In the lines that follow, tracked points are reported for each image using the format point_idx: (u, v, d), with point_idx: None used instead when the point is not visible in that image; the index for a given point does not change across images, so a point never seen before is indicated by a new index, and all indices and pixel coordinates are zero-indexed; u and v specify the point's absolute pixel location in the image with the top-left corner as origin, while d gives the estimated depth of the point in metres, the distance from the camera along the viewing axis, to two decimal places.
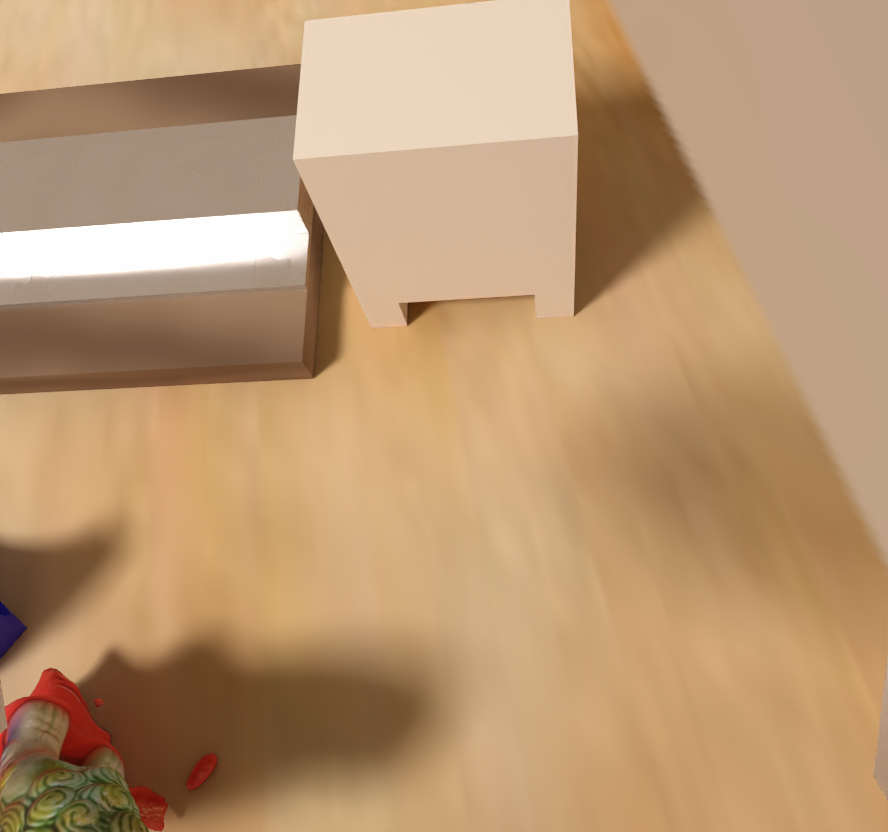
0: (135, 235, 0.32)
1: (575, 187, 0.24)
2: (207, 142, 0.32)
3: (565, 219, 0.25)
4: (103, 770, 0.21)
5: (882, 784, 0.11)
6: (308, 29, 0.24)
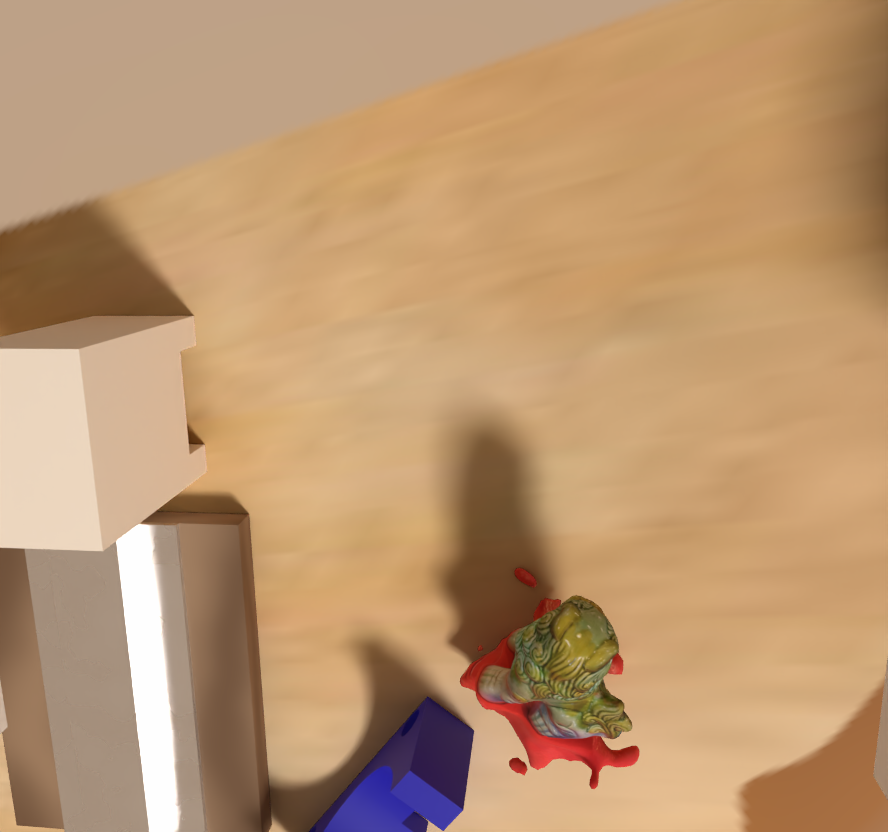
0: (138, 655, 0.41)
1: (110, 341, 0.32)
2: (56, 607, 0.40)
3: (130, 342, 0.33)
4: (516, 641, 0.34)
5: (882, 784, 0.11)
6: None
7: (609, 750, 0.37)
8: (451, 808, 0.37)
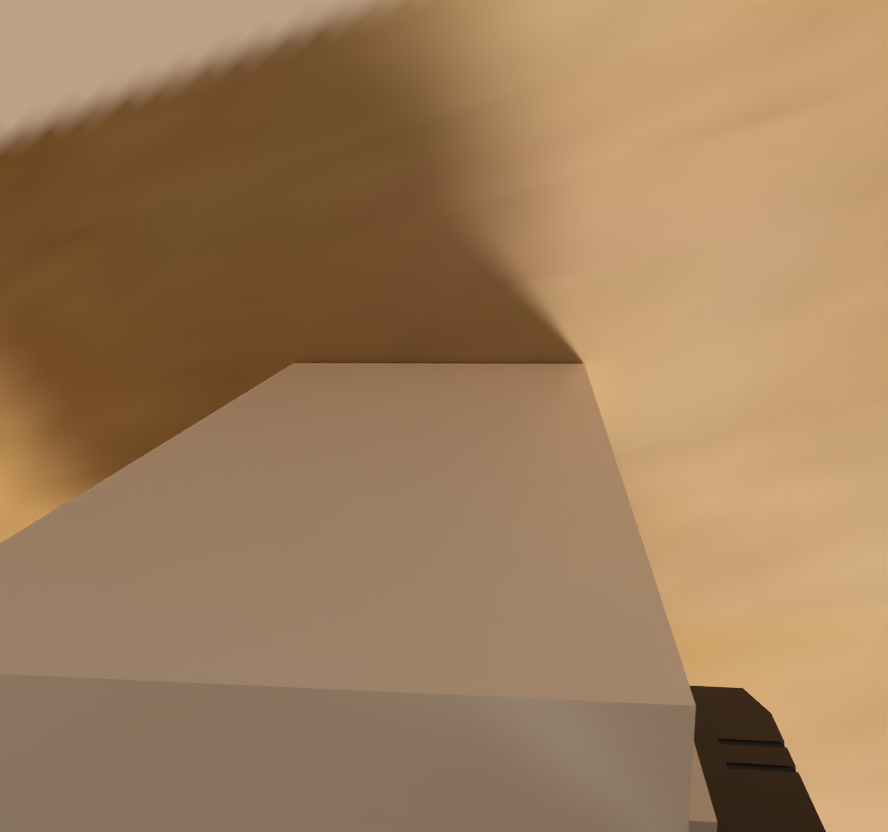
0: None
1: (643, 546, 0.06)
2: None
3: None
4: None
5: None
6: None
7: None
8: None
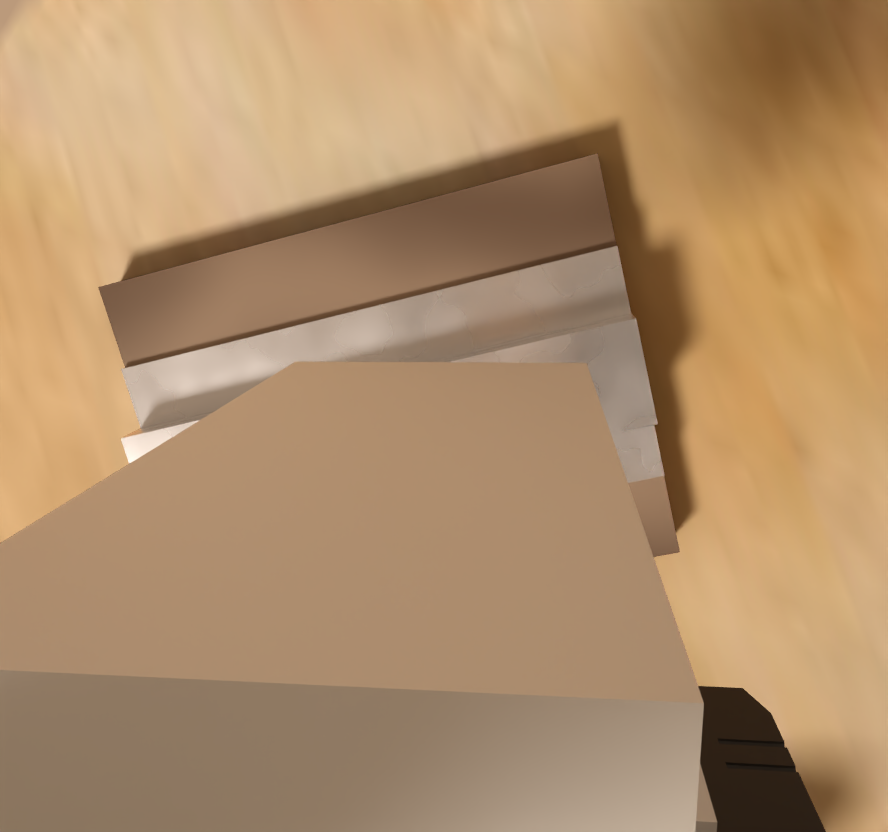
0: None
1: (648, 544, 0.06)
2: (516, 345, 0.27)
3: None
4: None
5: None
6: None
7: None
8: None
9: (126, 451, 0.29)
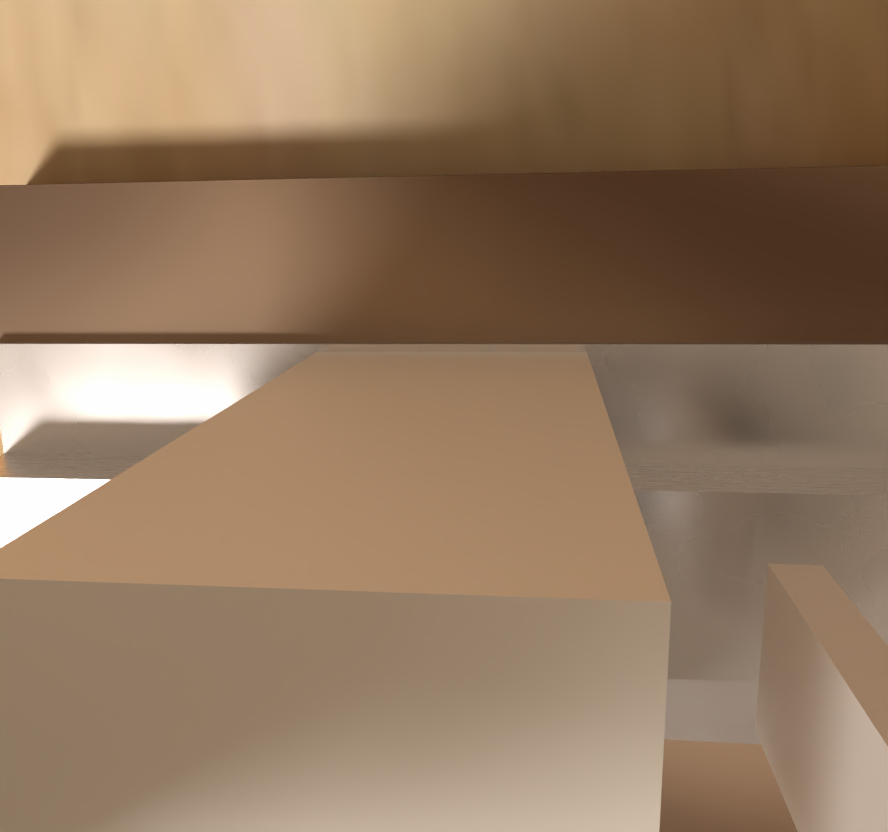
0: None
1: (635, 496, 0.07)
2: (742, 490, 0.14)
3: None
4: None
5: (760, 735, 0.12)
6: None
7: None
8: None
9: None
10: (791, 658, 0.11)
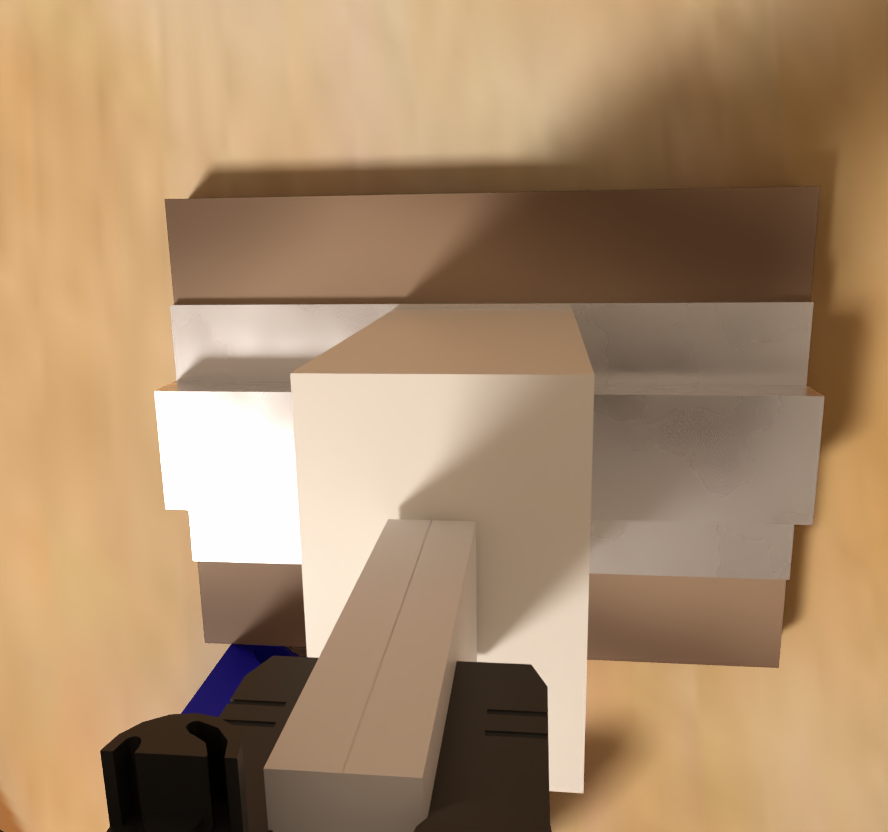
0: None
1: (587, 355, 0.15)
2: (670, 394, 0.22)
3: None
4: None
5: None
6: None
7: None
8: None
9: (157, 408, 0.23)
10: None
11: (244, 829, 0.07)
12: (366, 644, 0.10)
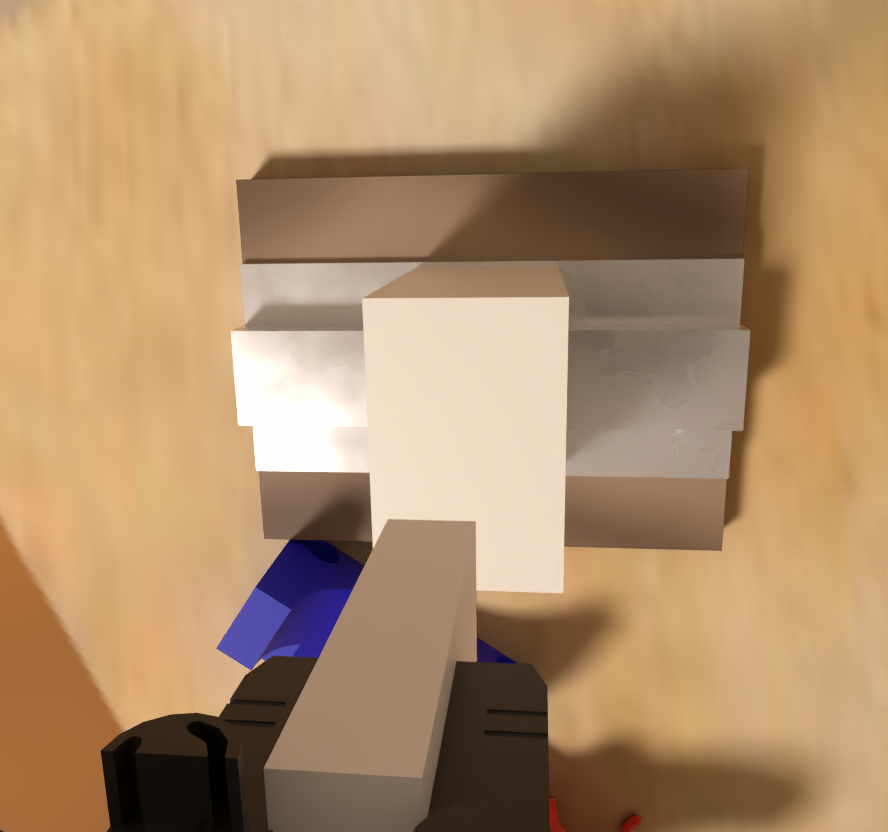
0: None
1: None
2: (633, 329, 0.28)
3: None
4: None
5: None
6: None
7: None
8: None
9: (233, 344, 0.30)
10: None
11: (244, 829, 0.07)
12: (366, 643, 0.10)
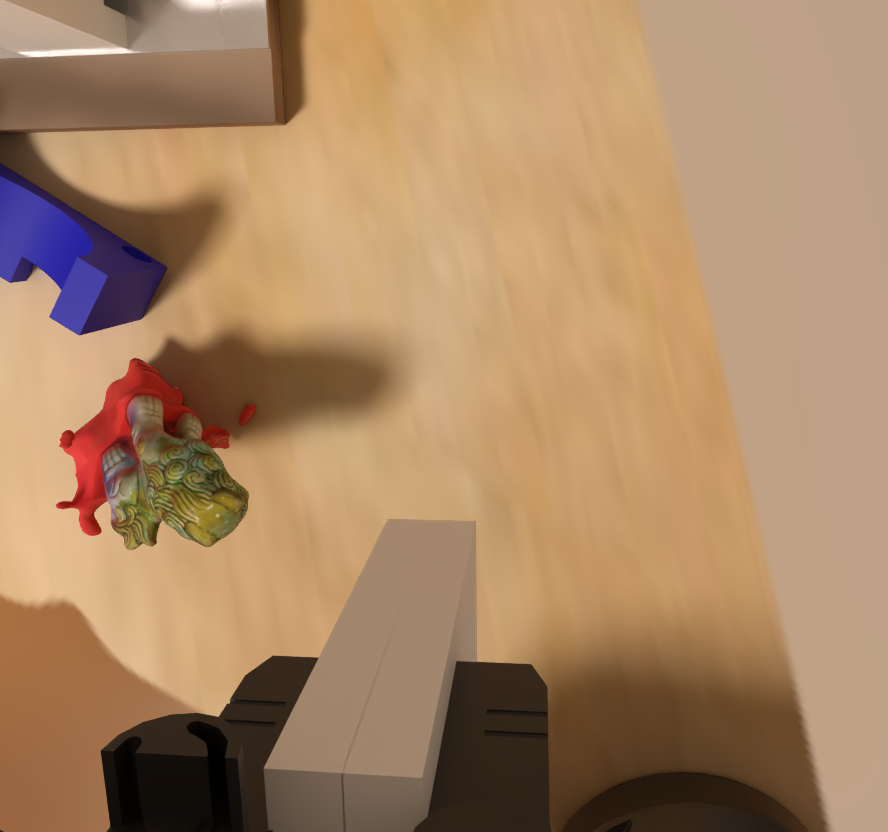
0: None
1: None
2: None
3: None
4: (198, 444, 0.35)
5: None
6: None
7: (93, 511, 0.40)
8: (77, 322, 0.36)
9: None
10: None
11: (244, 829, 0.07)
12: (366, 644, 0.10)
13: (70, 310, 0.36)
